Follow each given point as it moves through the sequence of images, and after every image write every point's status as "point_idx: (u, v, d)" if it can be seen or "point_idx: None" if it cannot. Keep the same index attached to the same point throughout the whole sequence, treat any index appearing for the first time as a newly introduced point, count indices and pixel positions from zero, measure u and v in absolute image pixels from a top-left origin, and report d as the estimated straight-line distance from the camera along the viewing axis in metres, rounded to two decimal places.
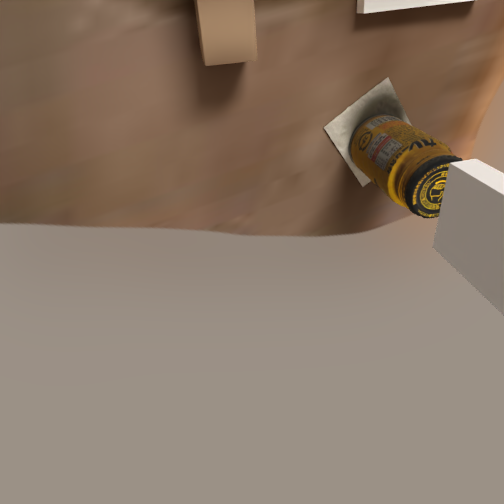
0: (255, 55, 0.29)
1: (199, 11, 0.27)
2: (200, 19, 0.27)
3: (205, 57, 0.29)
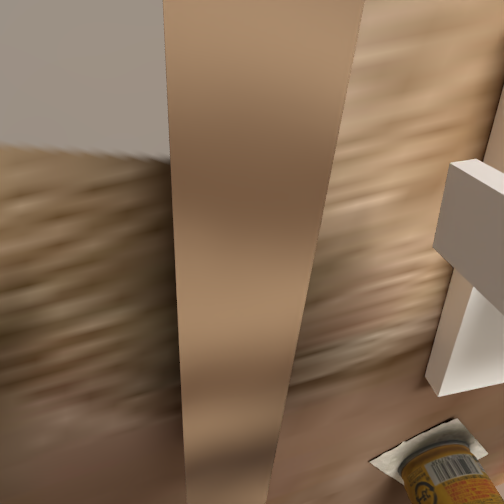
0: None
1: (187, 495, 0.18)
2: (187, 499, 0.18)
3: None
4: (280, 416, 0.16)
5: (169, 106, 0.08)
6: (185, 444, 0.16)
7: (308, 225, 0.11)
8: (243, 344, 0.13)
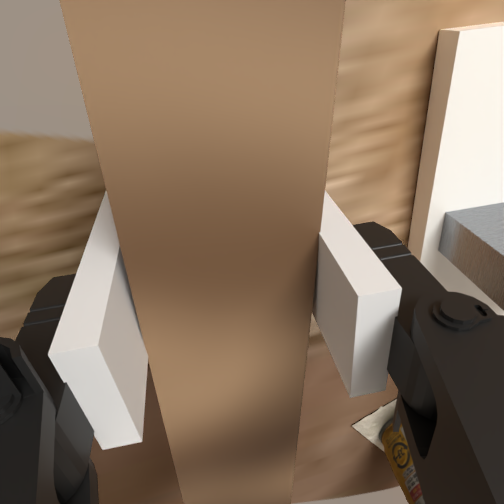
0: None
1: None
2: None
3: None
4: (291, 478, 0.14)
5: (105, 178, 0.07)
6: None
7: (299, 290, 0.09)
8: (238, 416, 0.11)
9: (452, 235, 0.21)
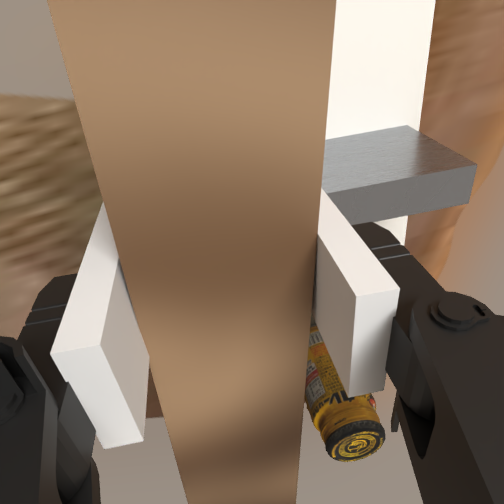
0: None
1: None
2: None
3: None
4: (295, 478, 0.14)
5: (101, 185, 0.07)
6: None
7: (298, 292, 0.09)
8: (241, 418, 0.11)
9: None
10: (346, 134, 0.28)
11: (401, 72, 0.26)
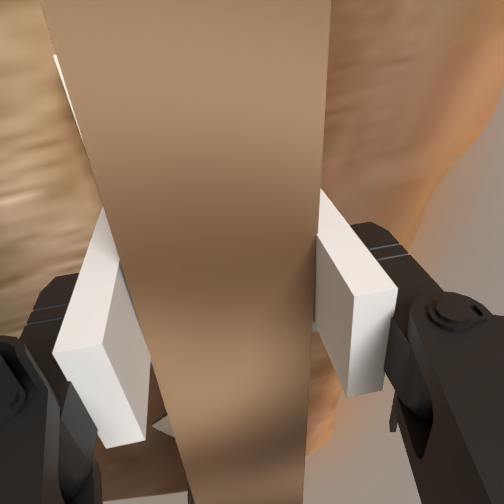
0: None
1: None
2: None
3: None
4: (301, 478, 0.14)
5: (101, 192, 0.07)
6: None
7: (300, 293, 0.09)
8: (245, 419, 0.11)
9: None
10: None
11: None
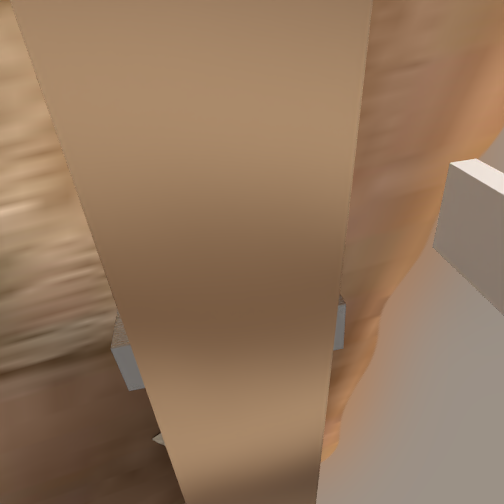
0: None
1: None
2: None
3: None
4: None
5: (95, 235, 0.06)
6: None
7: (318, 336, 0.08)
8: (254, 460, 0.10)
9: None
10: None
11: None
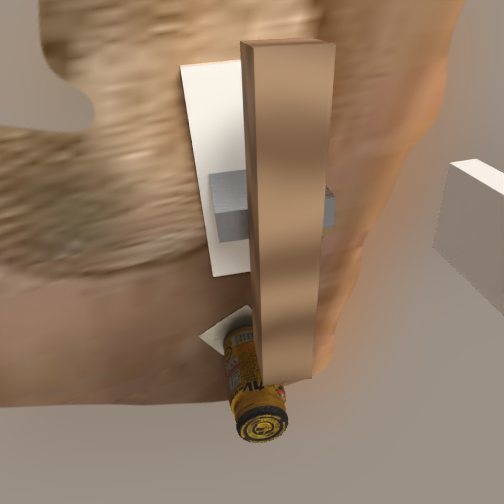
0: (310, 375, 0.31)
1: (263, 354, 0.29)
2: (263, 358, 0.29)
3: (264, 380, 0.31)
4: (316, 290, 0.26)
5: (256, 113, 0.20)
6: (262, 311, 0.27)
7: (321, 165, 0.22)
8: (292, 238, 0.24)
9: None
10: None
11: None
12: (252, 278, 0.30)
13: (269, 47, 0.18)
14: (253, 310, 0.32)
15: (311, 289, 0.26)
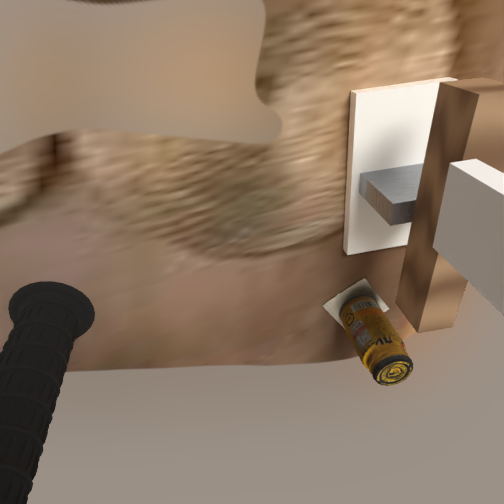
0: (452, 324, 0.41)
1: (424, 308, 0.39)
2: (423, 311, 0.39)
3: (419, 329, 0.41)
4: None
5: (469, 135, 0.29)
6: (433, 274, 0.37)
7: (500, 168, 0.31)
8: None
9: (362, 184, 0.44)
10: (396, 166, 0.44)
11: None
12: (412, 252, 0.40)
13: (488, 93, 0.28)
14: (405, 277, 0.42)
15: None
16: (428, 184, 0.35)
